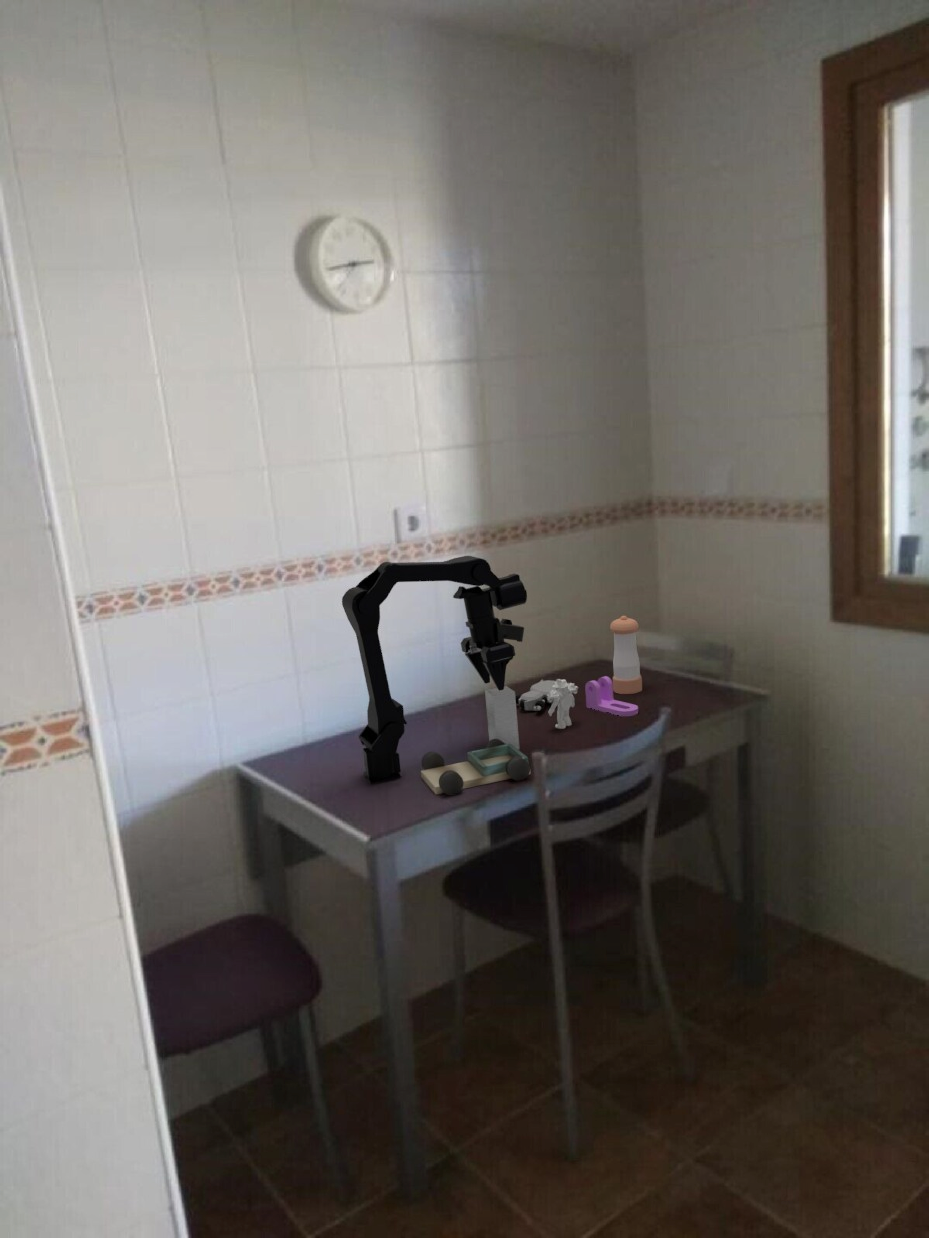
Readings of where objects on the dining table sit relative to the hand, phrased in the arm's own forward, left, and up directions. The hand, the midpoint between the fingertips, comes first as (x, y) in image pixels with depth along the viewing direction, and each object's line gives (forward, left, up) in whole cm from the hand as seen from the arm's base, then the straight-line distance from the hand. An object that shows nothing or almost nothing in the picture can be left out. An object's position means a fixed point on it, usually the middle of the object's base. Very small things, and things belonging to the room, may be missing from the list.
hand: (494, 686), depth 203 cm
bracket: (+34, +11, -15) cm, 38 cm away
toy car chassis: (-9, -11, -15) cm, 20 cm away
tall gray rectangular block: (+2, +1, -15) cm, 15 cm away
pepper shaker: (+44, +23, -15) cm, 51 cm away
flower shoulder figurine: (+19, +7, -15) cm, 25 cm away
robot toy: (+21, +24, -15) cm, 35 cm away
